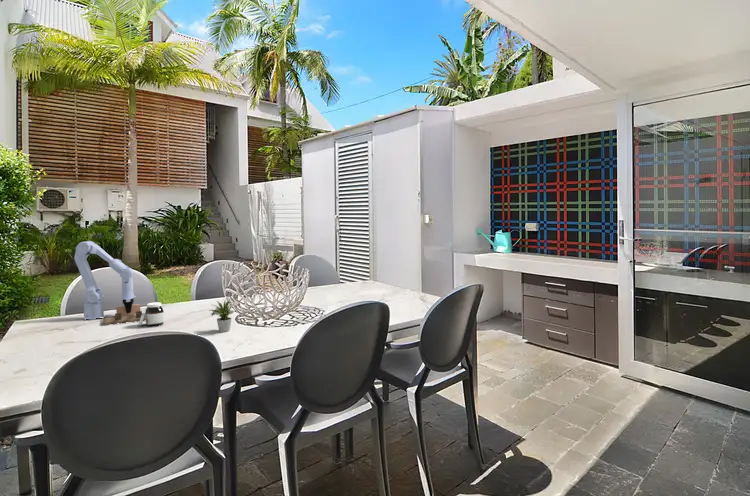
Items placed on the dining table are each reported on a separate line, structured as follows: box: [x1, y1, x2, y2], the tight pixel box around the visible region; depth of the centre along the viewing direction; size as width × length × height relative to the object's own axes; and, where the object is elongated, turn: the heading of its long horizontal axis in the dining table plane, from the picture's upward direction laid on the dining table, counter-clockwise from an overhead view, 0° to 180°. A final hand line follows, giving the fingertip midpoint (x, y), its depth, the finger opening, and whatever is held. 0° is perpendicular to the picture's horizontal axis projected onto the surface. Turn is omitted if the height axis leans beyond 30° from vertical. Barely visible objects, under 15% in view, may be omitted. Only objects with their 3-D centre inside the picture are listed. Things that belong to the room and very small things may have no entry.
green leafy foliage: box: [214, 297, 235, 315], centre depth 268 cm, size 34×5×10 cm
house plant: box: [208, 300, 234, 333], centre depth 215 cm, size 14×14×16 cm
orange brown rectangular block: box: [115, 303, 141, 316], centre depth 246 cm, size 12×3×6 cm, turn 120°
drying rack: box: [102, 310, 146, 326], centre depth 236 cm, size 24×12×4 cm, turn 120°
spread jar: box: [137, 301, 165, 327], centre depth 225 cm, size 12×11×12 cm
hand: (128, 312), depth 246 cm, fingers closed on orange brown rectangular block, 3 cm apart
